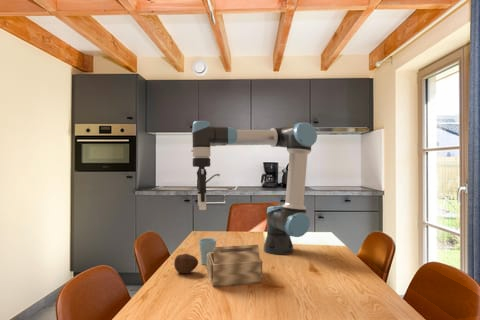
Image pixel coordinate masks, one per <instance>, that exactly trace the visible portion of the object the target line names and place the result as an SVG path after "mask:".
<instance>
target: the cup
mask: <svg viewBox="0 0 480 320" xmlns="http://www.w3.org/2000/svg"><path fill="white" fill-rule="evenodd" d="M198 243H199V252H200V259H201V260H200V261H201V263H200V264H201V265H202V266H203V265H204V266H207V254H208V253H209V252H214V248H213V247H217V239H215V238H212V237H208V238H200V239H199V240H198Z"/></svg>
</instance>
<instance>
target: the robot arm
mask: <svg viewBox="0 0 480 320" xmlns="http://www.w3.org/2000/svg"><path fill="white" fill-rule="evenodd" d="M191 135H192V149H191V150H190V152H191V153H192V157H193V158H192V167H193V168H198V169H197V171H196V176H197V177H196V179H197V206H198V208H199V211H206V210H207V175H208V174H207V173H208V172H207V169H205V167H207V168H208V167H209V168H210V167H211V158H210V157H211V147H217V146H218V147H219V146H220V147H221V146H266V145H267V146H271V147H272V148H275V147H278V148H286V151H287V152H288V153H289V157H288V166H287V167H288V168H287V169H288V170H287V177H286V178H287V179H286V192H285V203H283V204H282V205H273V206H268V207H267V209H266V238H265V241H264V244H263V251H264V252H265V253H268V254H272V255H287V254H292V253H293V252H294V244H293V241H292V239H291V238H292V237H293V238H294V237H295V238H300V237H303V236H304V235H305V234H307V232H308V231H309V229H310V226H311V220H310V218H309V216H308V214H307V207H306V206H305V205H304V204H305V203H304V201H305V187H306V177H307V165H308V155H309V154H311V152H312V146H314V144H315V143H316V142H317V140H318V139H317V138H318V133H317V131H316V128H315V127H314V126H313V125H312V124H311V123H309V122H306V121H305V122H297V123H293V124H289V125H284V126H280V127H272V128H270V129H237V128H235V127H232V126H231V127H230V126H212V125H211V122H210V121H208V120H195V121H193V123H192V131H191Z"/></svg>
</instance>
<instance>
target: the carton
mask: <svg viewBox="0 0 480 320" xmlns="http://www.w3.org/2000/svg"><path fill="white" fill-rule="evenodd" d="M206 271H207V274H208V276H209V277H208V278H209V280H210V282H211V284H212V288H217V287H218V288H219V287H228V286H229V287H230V286H231V287H233V286H243V285H253V284H255V285H256V284H262V278H263V260H262V259H261V258H260V261H252V262H238V263H223V264H214V252H209V253H208V254H207V265H206Z"/></svg>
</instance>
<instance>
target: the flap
mask: <svg viewBox="0 0 480 320" xmlns="http://www.w3.org/2000/svg"><path fill="white" fill-rule="evenodd" d="M213 248H214V264H223V263H238V262H252V261H260V259H261V258H260V249H259V245H258V244H246V245H231V246H230V245H229V246H228V245H225V246H215V247H213Z"/></svg>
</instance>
